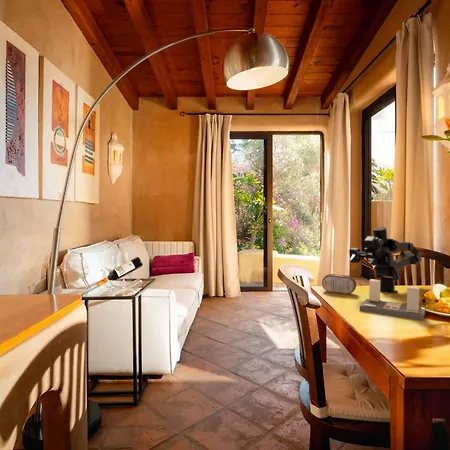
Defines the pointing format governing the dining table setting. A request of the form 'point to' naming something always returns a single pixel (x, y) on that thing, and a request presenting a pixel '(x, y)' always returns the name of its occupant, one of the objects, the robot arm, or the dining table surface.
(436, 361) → the dining table surface
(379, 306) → the switch bank
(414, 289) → the tab grey
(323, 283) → the tin
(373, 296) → the tab offwhite
